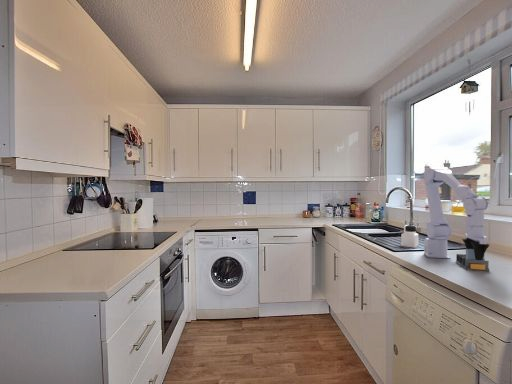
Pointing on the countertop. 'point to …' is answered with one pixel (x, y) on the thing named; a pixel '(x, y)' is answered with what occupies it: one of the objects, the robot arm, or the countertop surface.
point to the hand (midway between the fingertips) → (475, 257)
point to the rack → (472, 263)
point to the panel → (470, 254)
